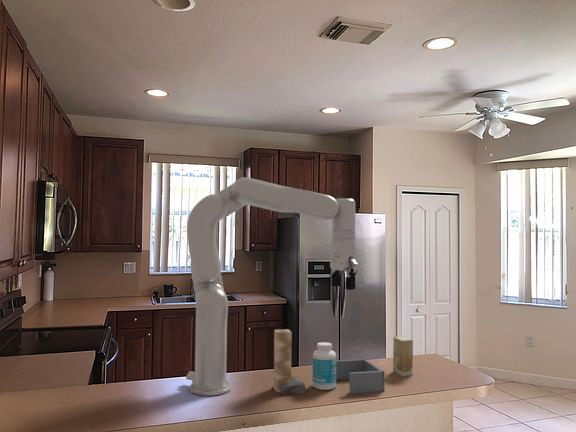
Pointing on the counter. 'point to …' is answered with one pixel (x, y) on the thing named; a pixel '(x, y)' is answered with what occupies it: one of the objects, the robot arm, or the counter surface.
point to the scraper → (285, 365)
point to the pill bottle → (324, 367)
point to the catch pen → (360, 375)
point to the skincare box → (403, 356)
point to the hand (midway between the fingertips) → (343, 287)
